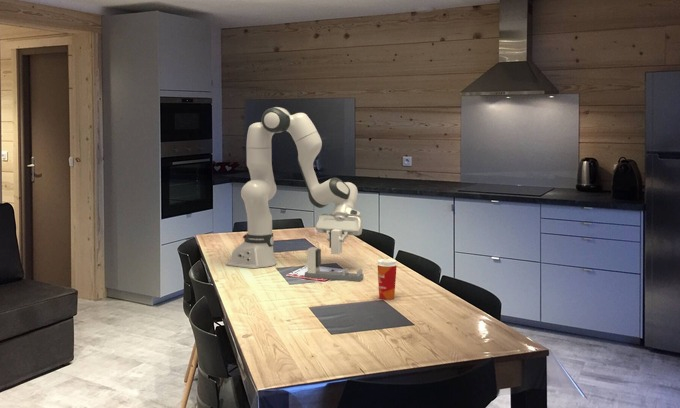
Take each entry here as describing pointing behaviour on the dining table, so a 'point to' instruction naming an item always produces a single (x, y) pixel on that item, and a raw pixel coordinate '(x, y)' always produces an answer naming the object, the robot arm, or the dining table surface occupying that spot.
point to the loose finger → (335, 241)
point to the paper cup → (386, 278)
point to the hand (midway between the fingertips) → (335, 240)
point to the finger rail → (315, 272)
